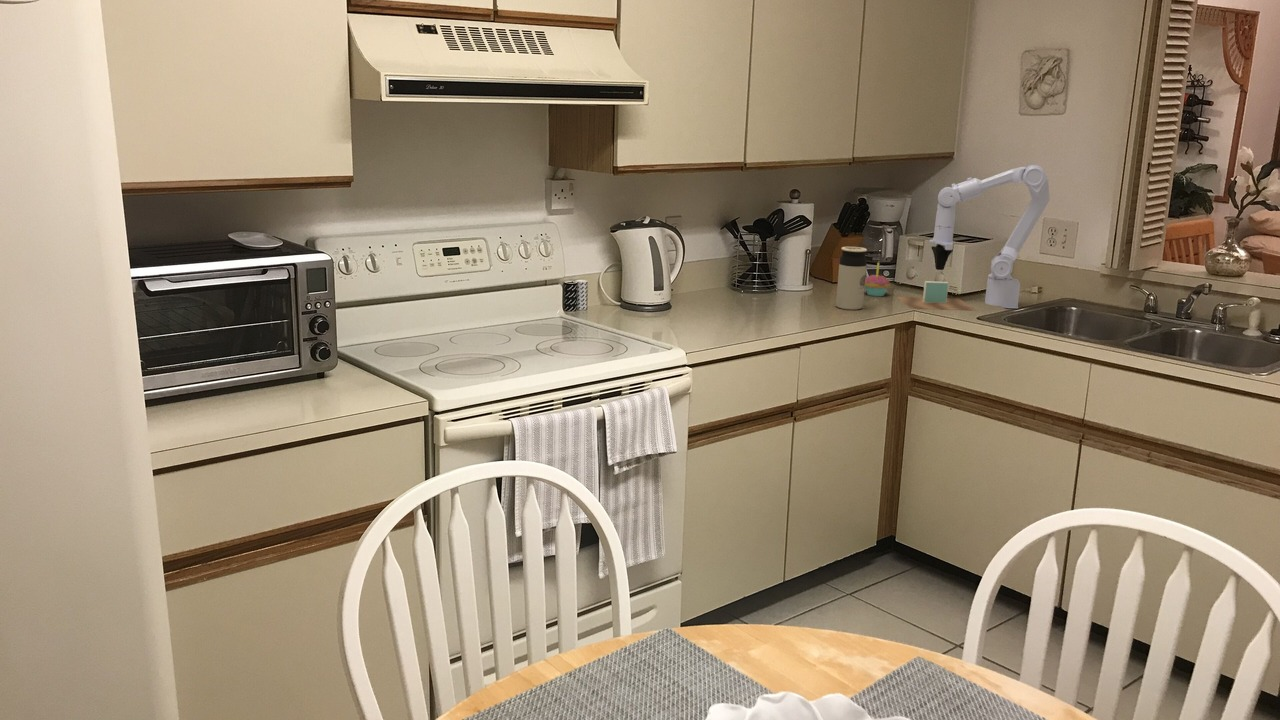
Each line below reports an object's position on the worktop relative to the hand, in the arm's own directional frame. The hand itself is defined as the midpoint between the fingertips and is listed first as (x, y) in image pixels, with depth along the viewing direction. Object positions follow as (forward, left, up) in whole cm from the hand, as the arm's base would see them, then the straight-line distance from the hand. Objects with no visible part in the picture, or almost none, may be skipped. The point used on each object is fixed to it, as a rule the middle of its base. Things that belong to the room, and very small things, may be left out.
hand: (939, 269), depth 319 cm
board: (+3, +9, -10) cm, 14 cm away
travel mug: (+31, +15, -10) cm, 36 cm away
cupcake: (+19, -3, -10) cm, 22 cm away
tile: (+3, +7, -9) cm, 12 cm away
